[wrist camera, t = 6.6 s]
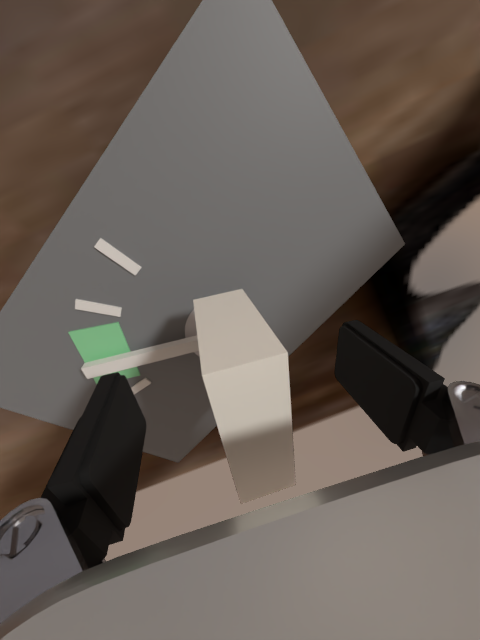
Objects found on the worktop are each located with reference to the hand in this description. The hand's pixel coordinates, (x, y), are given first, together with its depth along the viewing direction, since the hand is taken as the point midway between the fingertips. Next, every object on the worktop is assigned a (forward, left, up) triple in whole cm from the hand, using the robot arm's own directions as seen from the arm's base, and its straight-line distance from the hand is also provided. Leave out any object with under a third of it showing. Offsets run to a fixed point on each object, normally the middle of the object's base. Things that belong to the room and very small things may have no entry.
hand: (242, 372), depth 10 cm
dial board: (0, -2, -6) cm, 6 cm away
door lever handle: (+3, -2, -4) cm, 5 cm away
